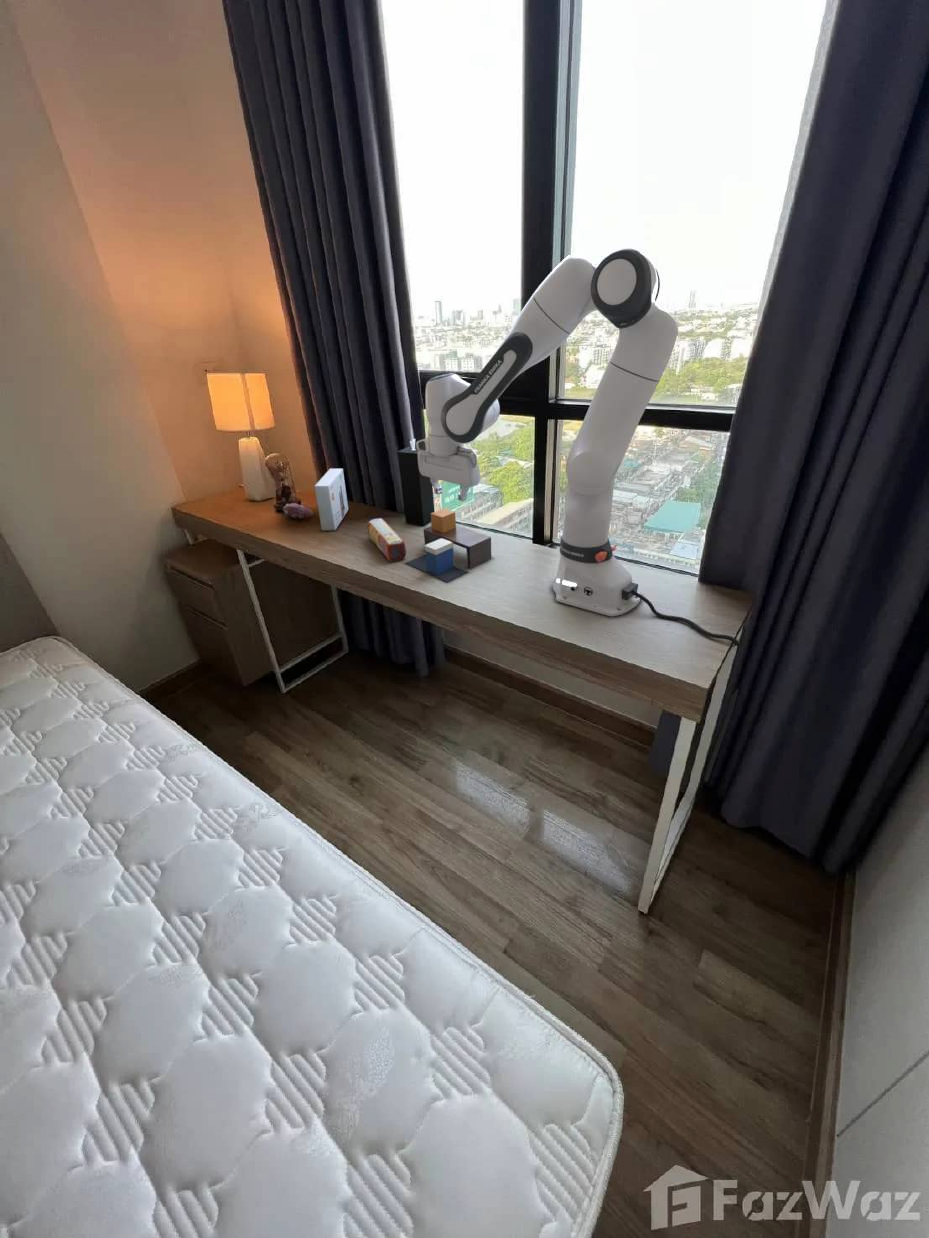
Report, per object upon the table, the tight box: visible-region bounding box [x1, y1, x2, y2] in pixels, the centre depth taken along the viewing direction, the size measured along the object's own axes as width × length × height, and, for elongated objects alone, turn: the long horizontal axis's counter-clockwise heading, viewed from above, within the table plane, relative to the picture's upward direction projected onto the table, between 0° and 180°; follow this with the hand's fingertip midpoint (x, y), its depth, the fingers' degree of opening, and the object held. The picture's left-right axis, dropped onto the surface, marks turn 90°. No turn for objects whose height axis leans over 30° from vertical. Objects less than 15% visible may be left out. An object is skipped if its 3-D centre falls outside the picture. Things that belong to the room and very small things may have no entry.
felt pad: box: [406, 554, 469, 583], centre depth 145 cm, size 18×8×1 cm, turn 44°
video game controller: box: [282, 502, 314, 519], centre depth 183 cm, size 10×5×7 cm, turn 73°
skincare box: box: [314, 468, 349, 531], centre depth 177 cm, size 21×6×16 cm, turn 179°
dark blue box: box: [424, 538, 455, 576], centre depth 141 cm, size 5×6×8 cm
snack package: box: [366, 518, 407, 563], centre depth 156 cm, size 21×7×7 cm, turn 26°
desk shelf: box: [422, 524, 492, 570], centre depth 150 cm, size 20×9×7 cm, turn 44°
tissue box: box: [396, 438, 436, 527], centre depth 169 cm, size 8×8×28 cm
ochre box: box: [430, 508, 457, 533], centre depth 150 cm, size 5×6×5 cm
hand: (450, 496), depth 134 cm, fingers open, 8 cm apart
